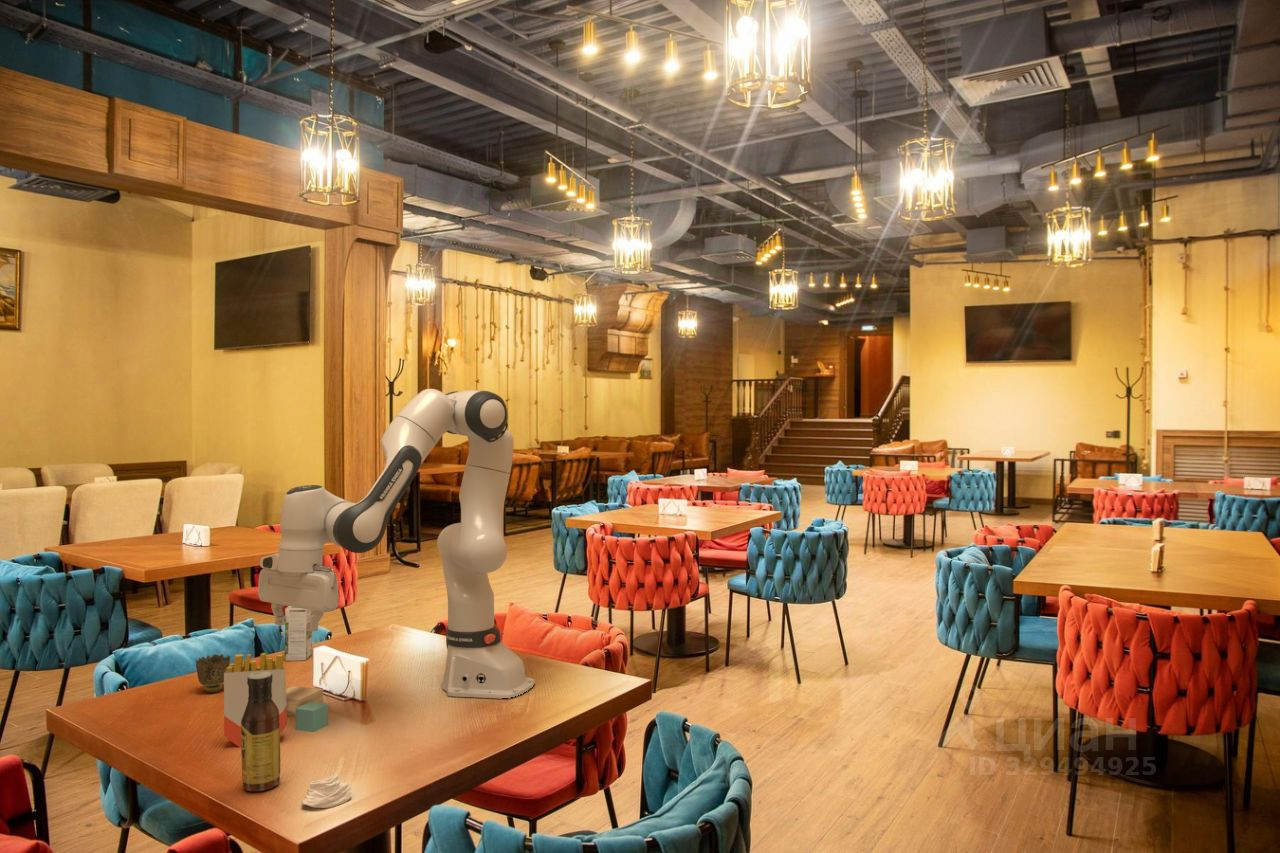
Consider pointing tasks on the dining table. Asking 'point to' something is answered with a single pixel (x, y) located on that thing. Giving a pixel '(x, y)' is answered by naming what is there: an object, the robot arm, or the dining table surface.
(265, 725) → the sauce bottle
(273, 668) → the french fries container
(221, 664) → the cup
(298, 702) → the maple base block
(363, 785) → the dining table surface
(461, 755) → the dining table surface
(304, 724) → the teal block
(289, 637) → the syrup box
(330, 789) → the whipped cream
